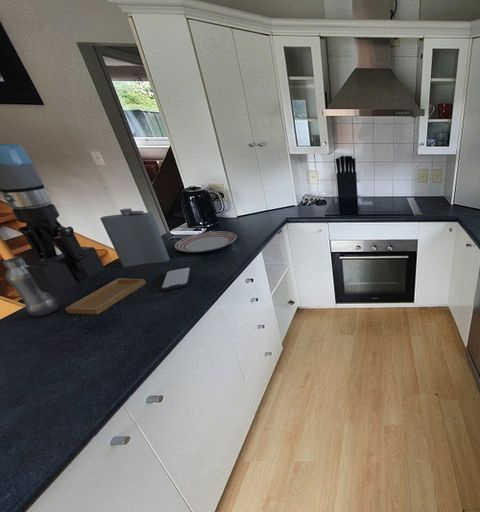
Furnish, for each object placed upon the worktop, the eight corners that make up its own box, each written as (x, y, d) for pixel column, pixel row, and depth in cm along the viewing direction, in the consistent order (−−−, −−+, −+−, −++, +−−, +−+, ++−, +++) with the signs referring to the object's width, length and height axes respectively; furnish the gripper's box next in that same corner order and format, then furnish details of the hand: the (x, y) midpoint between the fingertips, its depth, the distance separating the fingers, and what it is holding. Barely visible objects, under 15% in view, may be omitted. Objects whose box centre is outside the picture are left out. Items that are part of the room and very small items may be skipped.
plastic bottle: (38, 309, 93) (2, 257, 84) (65, 304, 96) (33, 253, 87) (27, 321, 88) (-13, 266, 79) (56, 315, 90) (21, 262, 82)
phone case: (167, 274, 115) (161, 292, 103) (166, 271, 115) (160, 289, 102) (192, 269, 119) (189, 286, 107) (191, 266, 119) (188, 283, 106)
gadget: (91, 268, 90) (79, 245, 87) (105, 268, 90) (93, 246, 86) (41, 291, 78) (24, 266, 74) (57, 292, 78) (41, 267, 74)
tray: (67, 313, 91) (64, 308, 91) (120, 282, 109) (118, 278, 108) (97, 314, 91) (94, 309, 90) (146, 283, 109) (144, 279, 108)
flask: (171, 257, 129) (152, 206, 118) (168, 261, 125) (148, 208, 114) (126, 262, 124) (101, 209, 113) (121, 267, 120) (95, 212, 109)
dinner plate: (199, 235, 155) (198, 229, 153) (247, 236, 154) (245, 230, 152) (162, 256, 130) (160, 250, 128) (218, 258, 129) (217, 251, 128)
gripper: (-18, 208, 71) (32, 284, 81) (47, 210, 70) (89, 287, 80) (19, 200, 77) (60, 271, 88) (78, 203, 76) (113, 274, 87)
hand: (74, 278), depth 84 cm, fingers closed on gadget, 5 cm apart
